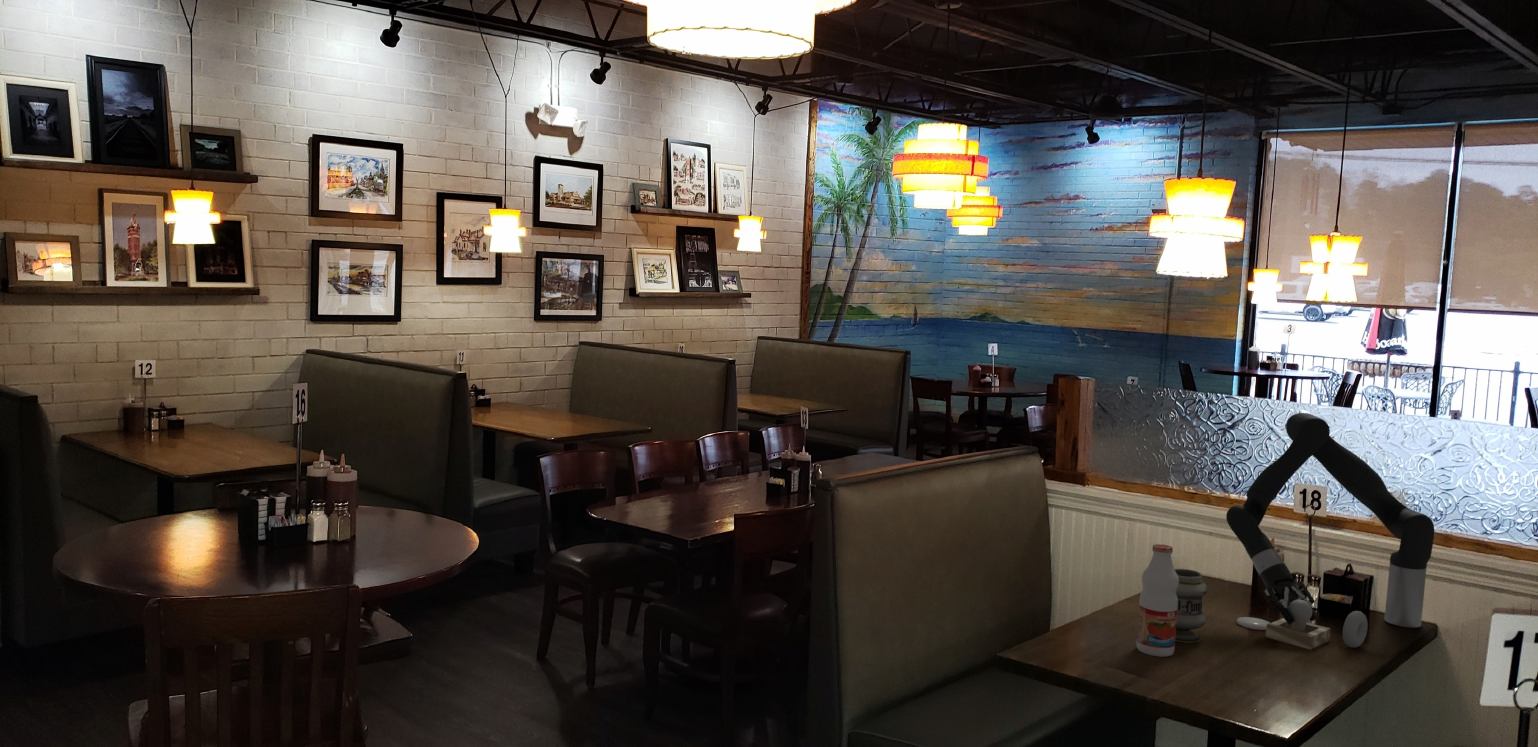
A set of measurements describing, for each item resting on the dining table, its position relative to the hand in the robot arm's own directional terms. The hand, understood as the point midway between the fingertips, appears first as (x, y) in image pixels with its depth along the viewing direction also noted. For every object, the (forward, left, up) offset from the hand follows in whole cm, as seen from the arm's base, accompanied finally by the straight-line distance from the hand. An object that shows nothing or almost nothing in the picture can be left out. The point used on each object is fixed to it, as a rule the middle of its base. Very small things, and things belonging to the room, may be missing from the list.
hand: (1303, 621), depth 293 cm
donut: (-7, +11, -6) cm, 14 cm away
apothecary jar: (+26, -21, -6) cm, 34 cm away
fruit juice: (+43, -19, -6) cm, 47 cm away
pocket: (0, -1, -5) cm, 6 cm away
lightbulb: (0, -1, -6) cm, 6 cm away
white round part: (-2, -14, -5) cm, 15 cm away
